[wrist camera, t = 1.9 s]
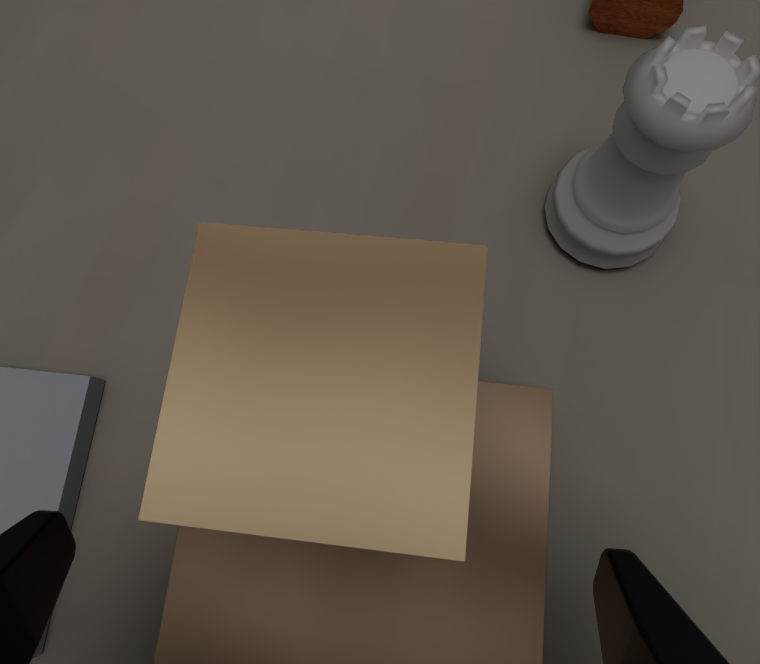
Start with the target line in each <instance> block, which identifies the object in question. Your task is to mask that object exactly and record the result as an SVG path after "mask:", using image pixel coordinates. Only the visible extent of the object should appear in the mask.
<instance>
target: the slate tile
mask: <svg viewBox="0 0 760 664" xmlns="http://www.w3.org/2000/svg"><path fill="white" fill-rule="evenodd" d="M104 384H105V381H103V380H100V379H97V378H94V377H91V376H84V375H74V374H65V373H56V372H46V371H37V370H27V369H18V368H8V367H0V534H1V533H3V532H4V531H6V530H7V529H9V528H10V527H12V526H13V525H15V524H16V523H18V522H19V521H21V520H22V519H23V518H25V517H26V516H28V515H29V514H31V513H33V512H35V511H38V510H49V511H59V512H61V513H63V514H64V516H65V518H66V520H67V523H68V525H69V528H70V530H71V526H72V522H73V517H74V513H75V509H76V504H77V500H78V496H79V491H80V487H81V483H82V479H83V474H84V470H85V466H86V461H87V457H88V453H89V448H90V444H91V440H92V436H93V431H94V427H95V423H96V418H97V414H98V410H99V405H100V401H101V397H102V393H103V388H104ZM49 621H50V619H49ZM49 621H48V624H47V626H46V629H45V631H44V633H43V636H42V638H41V640H40V643H39V645H38V647H37V649H36V651H35V653H34V655H33V657H36V656H38V655H40V654H42V651H43V646H44V642H45V638H46V633H47V629H48V625H49ZM33 657H32V658H33Z"/></svg>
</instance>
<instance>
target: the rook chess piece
mask: <svg viewBox="0 0 760 664" xmlns="http://www.w3.org/2000/svg"><path fill="white" fill-rule="evenodd" d="M705 36H706V25H700V26H691V27H685V29H684V31H683V32H682V34H681V36H680V38H679V39H678V41H674V40H673V39H672V38H671V37H670V36H669V35H668V37H667V38H666V39H665V40H664V41H663V42H662V44H661V45H659V46H657V47H655V48H653V49H651V50H649V51H647V52H645V53H643V54H642V55H641V56H640V57H639V58H638V59H637V60H636V62H635V63H634V64H633V65H632V66H631V67H630V69H629V70H628V72H627V76H626V80H625V83H624V87H623V95H624V100H625V101H624V102H623V103H622V104H621V105H620V107H619V108H618V109H617V111H616V114H615V118H614V122H613V126H612V127H613V132H612V134H611V135H610V136H609V137H608V139H607V140H606V141H604V142H602V143H600V144H596V145H594V146H592V147H590V148H588V149H586V150H584V151H582V152H580V153H578V154H576V155H575V156H574V157H572V158H571V159H570V161H569V162H568V163H567V164H566V165H565V166H564V168H563V169H562V170H561V171H560V172H559V173H558V175H557V178H556V180H555V181H554V182H553V183H552V184H551V186H550V189H549V192H548V196H547V199H546V203H545V206H544V207H545V213H546V219H547V225H548V229H549V231H550V232H551V234H552V235H553V237H554V238H555V240H556V241H557V243H558V244H559V246H560V248H562V249H563V250H564V251H566V252H567V253H569V254H570V255H571V256H573V257H574V258H576V259H577V260H578V261H580V262H582V263H585V264H589V265H593V266H596V267H600V268H604V269H610V268H621V267H630V266H632V265H634V264H636V263H638V262H640V261H642V260H644V259H646V258H648V257H650V256H652V254H653V253H654V252H655V251H656V249H657V248H658V247H659V246H660V244H661V243H662V242H663V241H664V239H665V238H666V236H667V235H668V234H669V233H670V231H671V230H672V229H673V228H674V225H675V222H676V218H677V214H678V209H679V205H680V200H681V199H680V195H679V191H680V186H679V184H680V182H681V181H682V179H683V177H684V175H685V173H686V172H688V171H690V170H692V169H694V168H696V167H698V166H700V165H702V164H703V162H704V161H705V160H706V159H707V158H708V156H709V155H710V154H711V153H712V151H713V150H716V149H718V148H720V147H722V146H724V145H726V144H728V143H730V142H732V141H734V140H736V139H737V138H738V137H739V136H740V135H741V134H742V132H743V131H744V130H745V129H746V127H747V126H748V125H749V124H750V122H751V121H752V117H753V112H754V107H755V102H756V97H755V94H756V93H757V91H758V90H759V89H757V88H754V87H752V84H753V83H754V82H755V80H756V79H757V78H758V77H759V76H760V62H759V58H758V55H754V56H751V57H747V58H745V60H744V61H743V62H742V61H741V60H740V59H739V58H738V57H737V55H736V54H735V52H736V51H737V50H738V48H739V47H740V46H741V44H742V43H743V41H744V40H745V39H743V38H741V37H739V36H738V35H736V34H734V33H732V32H731V31H729V30H726V31H725V33H724V34H723V36H722V37H721V39H720V40H719V41H718V43H715V42H710V41H705V40H703V39H704V38H705Z"/></svg>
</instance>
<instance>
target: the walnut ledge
mask: <svg viewBox="0 0 760 664" xmlns="http://www.w3.org/2000/svg"><path fill="white" fill-rule="evenodd" d="M552 408H553V389H549V388H539V387H529V386H519V385H509V384H499V383H489V382H479V381H478V387H477V401H476V415H475V429H474V442H473V456H472V470H471V484H470V498H469V512H468V526H467V540H466V554H465V561H457V560H449V559H441V558H433V557H425V556H417V555H410V554H402V553H394V552H386V551H378V550H370V549H362V548H354V547H347V546H339V545H331V544H323V543H315V542H307V541H299V540H291V539H283V538H276V537H268V536H260V535H252V534H244V533H236V532H228V531H220V530H212V529H205V528H197V527H189V526H181V525H179V530H178V535H177V540H176V546H175V551H174V556H173V561H172V567H171V572H170V577H169V583H168V588H167V593H166V599H165V604H164V609H163V614H162V620H161V625H160V630H159V636H158V641H157V646H156V651H155V657H154V662H153V664H542V662H543V636H544V611H545V586H546V560H547V535H548V509H549V484H550V458H551V433H552Z"/></svg>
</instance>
